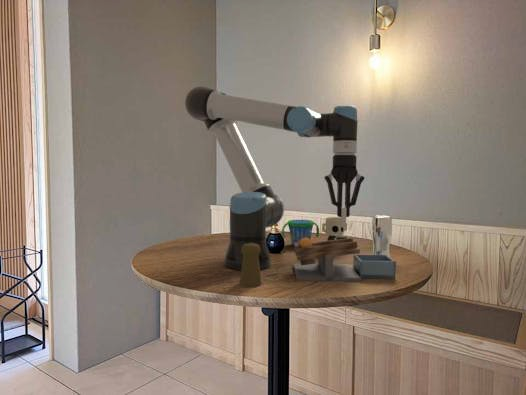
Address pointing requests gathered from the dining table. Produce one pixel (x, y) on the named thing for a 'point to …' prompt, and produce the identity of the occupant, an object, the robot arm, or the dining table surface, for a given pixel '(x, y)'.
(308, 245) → the ball
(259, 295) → the dining table surface
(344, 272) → the lever base
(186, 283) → the dining table surface
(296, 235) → the snack cup
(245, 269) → the brown upright piece
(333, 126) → the robot arm
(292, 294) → the dining table surface
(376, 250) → the beer glass
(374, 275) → the cup
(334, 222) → the character mug
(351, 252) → the tilt lever
